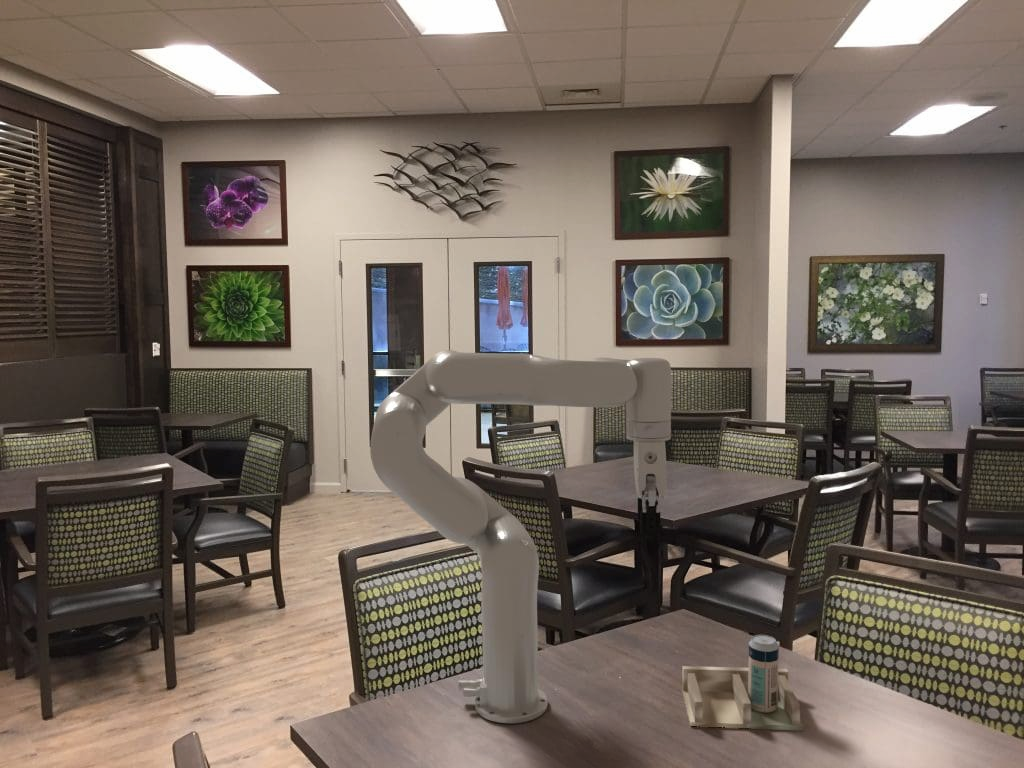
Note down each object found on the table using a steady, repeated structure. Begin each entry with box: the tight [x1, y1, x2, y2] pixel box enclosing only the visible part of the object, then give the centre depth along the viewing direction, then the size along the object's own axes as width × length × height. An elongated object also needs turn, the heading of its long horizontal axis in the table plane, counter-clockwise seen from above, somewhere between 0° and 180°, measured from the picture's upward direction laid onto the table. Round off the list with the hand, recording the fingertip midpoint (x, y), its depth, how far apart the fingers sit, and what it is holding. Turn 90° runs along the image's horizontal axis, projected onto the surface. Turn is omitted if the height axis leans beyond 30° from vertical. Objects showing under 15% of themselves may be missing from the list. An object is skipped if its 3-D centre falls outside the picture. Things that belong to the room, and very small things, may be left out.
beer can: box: [747, 634, 780, 713], centre depth 136 cm, size 5×5×12 cm
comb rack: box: [681, 665, 805, 732], centre depth 137 cm, size 18×12×5 cm, turn 84°
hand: (648, 527), depth 141 cm, fingers open, 9 cm apart
